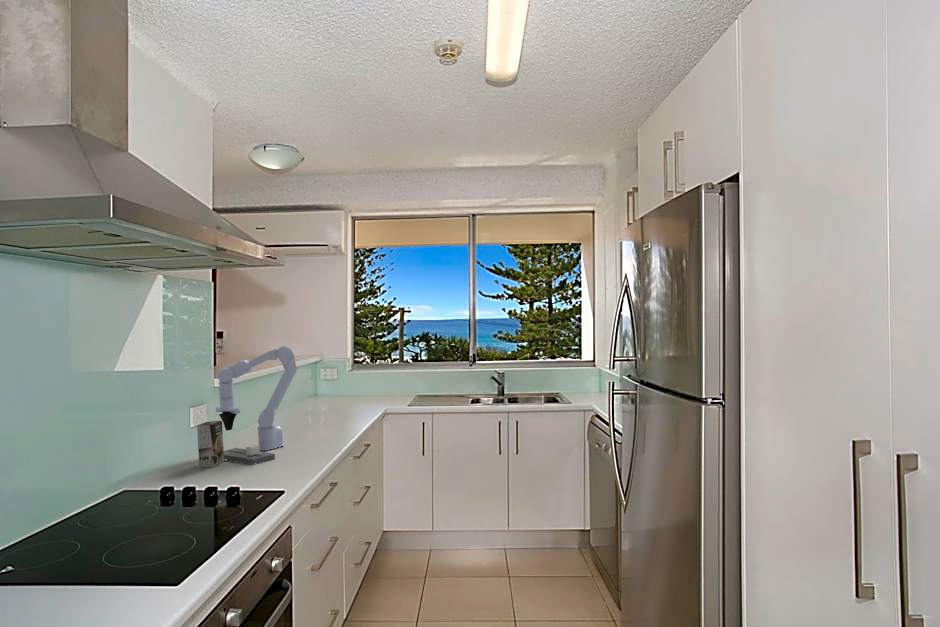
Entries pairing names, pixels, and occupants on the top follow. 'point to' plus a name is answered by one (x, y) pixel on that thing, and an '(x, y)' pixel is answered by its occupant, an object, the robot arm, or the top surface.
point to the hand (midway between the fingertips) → (228, 430)
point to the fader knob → (253, 450)
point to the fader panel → (247, 456)
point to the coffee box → (210, 444)
